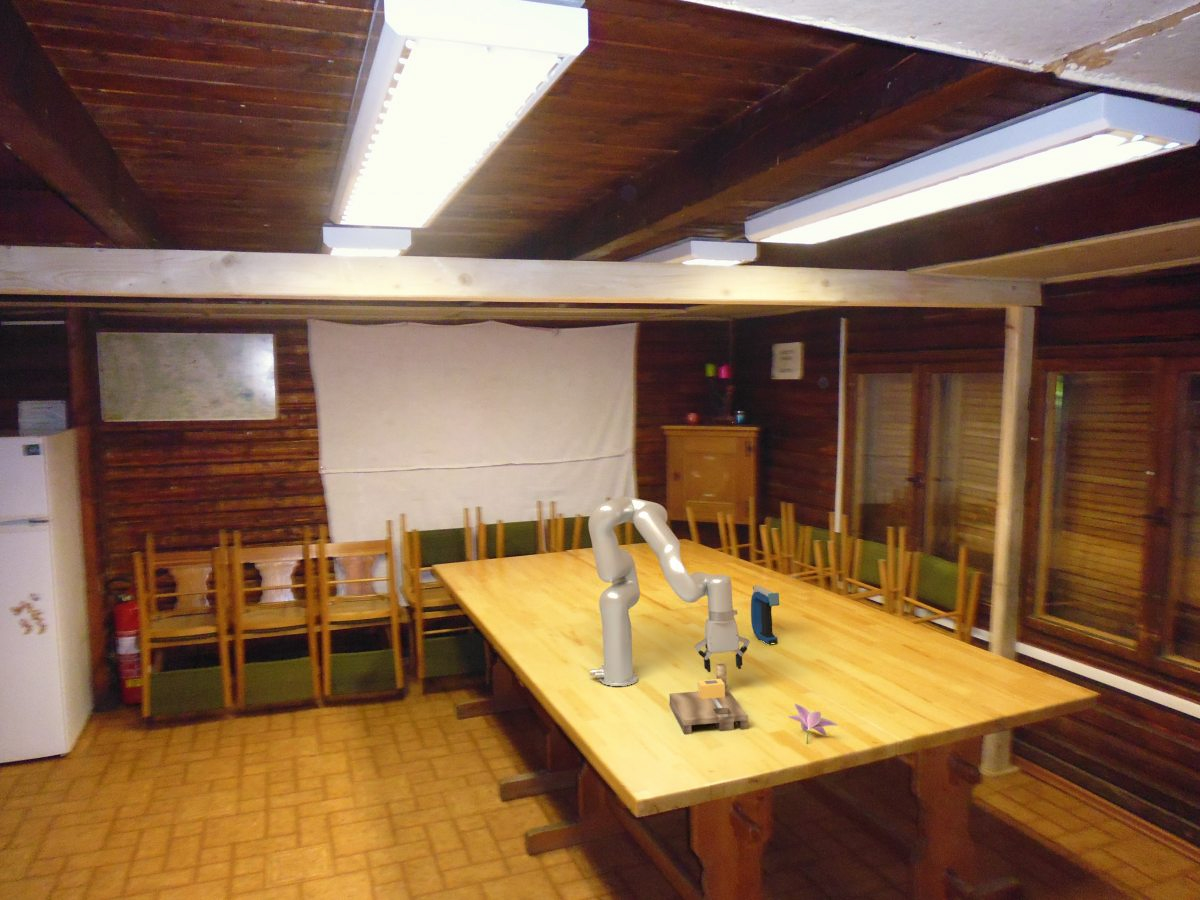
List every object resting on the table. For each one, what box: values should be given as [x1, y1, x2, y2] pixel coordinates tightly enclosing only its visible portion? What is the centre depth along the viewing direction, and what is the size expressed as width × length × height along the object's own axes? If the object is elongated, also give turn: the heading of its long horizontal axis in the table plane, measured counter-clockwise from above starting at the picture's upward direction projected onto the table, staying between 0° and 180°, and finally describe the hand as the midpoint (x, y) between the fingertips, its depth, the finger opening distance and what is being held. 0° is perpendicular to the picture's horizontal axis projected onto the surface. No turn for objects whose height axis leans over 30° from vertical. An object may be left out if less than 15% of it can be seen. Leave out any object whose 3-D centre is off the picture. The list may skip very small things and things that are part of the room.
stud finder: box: [697, 678, 725, 699], centre depth 241 cm, size 7×4×4 cm, turn 97°
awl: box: [716, 663, 728, 689], centre depth 253 cm, size 3×3×9 cm
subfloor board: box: [669, 688, 749, 735], centre depth 235 cm, size 18×20×4 cm
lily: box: [788, 703, 838, 745], centre depth 219 cm, size 12×12×10 cm
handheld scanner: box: [750, 585, 780, 645], centre depth 304 cm, size 5×16×20 cm, turn 15°
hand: (723, 669), depth 253 cm, fingers open, 9 cm apart
